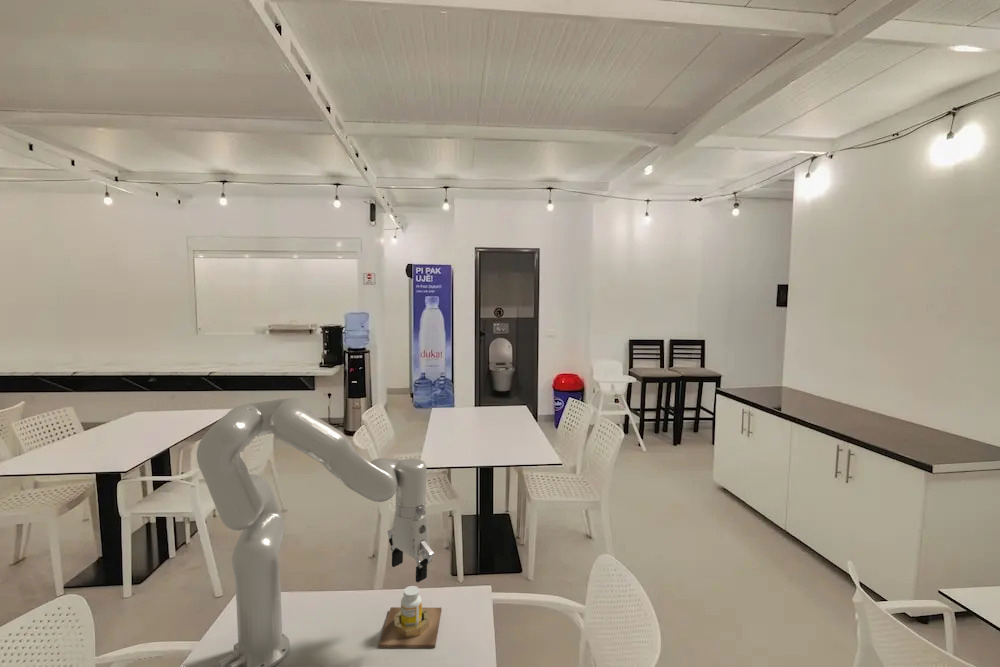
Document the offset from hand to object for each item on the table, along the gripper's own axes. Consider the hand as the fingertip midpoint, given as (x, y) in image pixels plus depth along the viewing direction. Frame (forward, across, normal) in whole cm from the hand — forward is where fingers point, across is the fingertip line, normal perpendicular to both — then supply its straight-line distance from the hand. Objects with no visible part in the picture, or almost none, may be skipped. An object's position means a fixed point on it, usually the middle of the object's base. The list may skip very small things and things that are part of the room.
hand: (408, 572), depth 124 cm
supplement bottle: (+15, -1, -1) cm, 15 cm away
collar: (+15, -1, -1) cm, 15 cm away
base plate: (+15, -1, -1) cm, 15 cm away
